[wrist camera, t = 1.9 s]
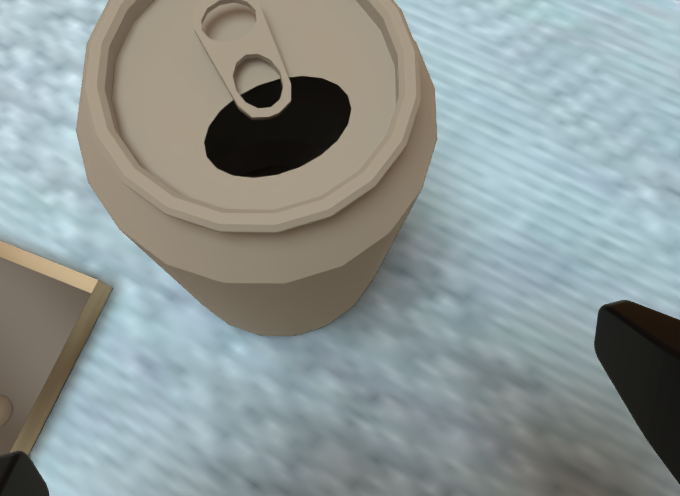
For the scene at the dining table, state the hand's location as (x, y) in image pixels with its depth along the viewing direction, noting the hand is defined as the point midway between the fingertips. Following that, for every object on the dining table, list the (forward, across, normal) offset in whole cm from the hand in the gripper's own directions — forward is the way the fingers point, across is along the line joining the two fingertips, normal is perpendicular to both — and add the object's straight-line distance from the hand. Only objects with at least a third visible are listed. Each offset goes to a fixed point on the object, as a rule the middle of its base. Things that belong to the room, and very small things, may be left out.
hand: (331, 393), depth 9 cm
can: (+13, 0, +5) cm, 14 cm away
